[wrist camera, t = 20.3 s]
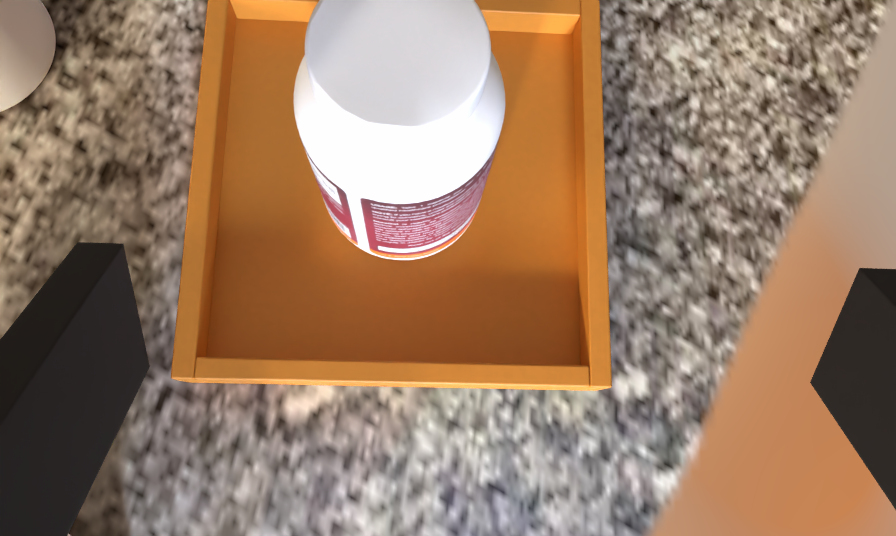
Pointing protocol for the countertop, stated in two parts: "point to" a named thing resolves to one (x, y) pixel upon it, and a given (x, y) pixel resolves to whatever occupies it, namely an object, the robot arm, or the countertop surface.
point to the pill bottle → (399, 119)
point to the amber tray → (386, 280)
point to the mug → (24, 49)
